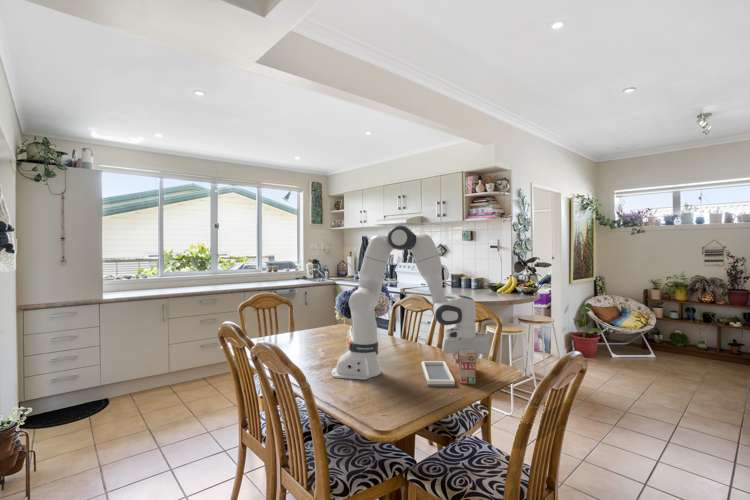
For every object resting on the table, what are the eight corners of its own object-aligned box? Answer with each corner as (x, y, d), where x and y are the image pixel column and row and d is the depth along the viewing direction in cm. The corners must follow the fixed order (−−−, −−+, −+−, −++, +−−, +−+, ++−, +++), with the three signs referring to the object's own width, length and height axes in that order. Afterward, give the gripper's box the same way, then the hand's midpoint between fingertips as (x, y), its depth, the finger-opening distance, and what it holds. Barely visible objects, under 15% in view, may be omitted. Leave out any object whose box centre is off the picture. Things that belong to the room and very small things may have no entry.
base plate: (427, 386, 151) (427, 380, 151) (421, 366, 177) (421, 361, 177) (454, 386, 151) (454, 380, 151) (444, 366, 177) (444, 361, 177)
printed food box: (456, 367, 175) (456, 341, 175) (469, 368, 174) (469, 342, 174) (460, 384, 154) (460, 354, 154) (476, 384, 153) (475, 354, 153)
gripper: (487, 330, 166) (487, 361, 166) (441, 330, 167) (441, 360, 167) (491, 334, 160) (491, 365, 160) (443, 333, 161) (443, 365, 161)
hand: (465, 363), depth 163 cm, fingers closed on printed food box, 6 cm apart
